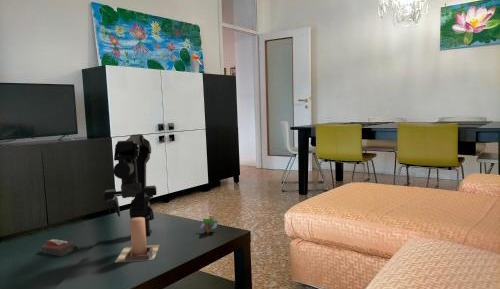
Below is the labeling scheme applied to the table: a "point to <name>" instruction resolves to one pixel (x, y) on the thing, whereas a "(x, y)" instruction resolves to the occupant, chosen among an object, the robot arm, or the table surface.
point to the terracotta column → (138, 236)
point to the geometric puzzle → (209, 225)
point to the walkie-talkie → (58, 247)
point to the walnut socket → (139, 257)
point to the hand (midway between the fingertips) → (132, 215)
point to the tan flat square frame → (125, 252)
